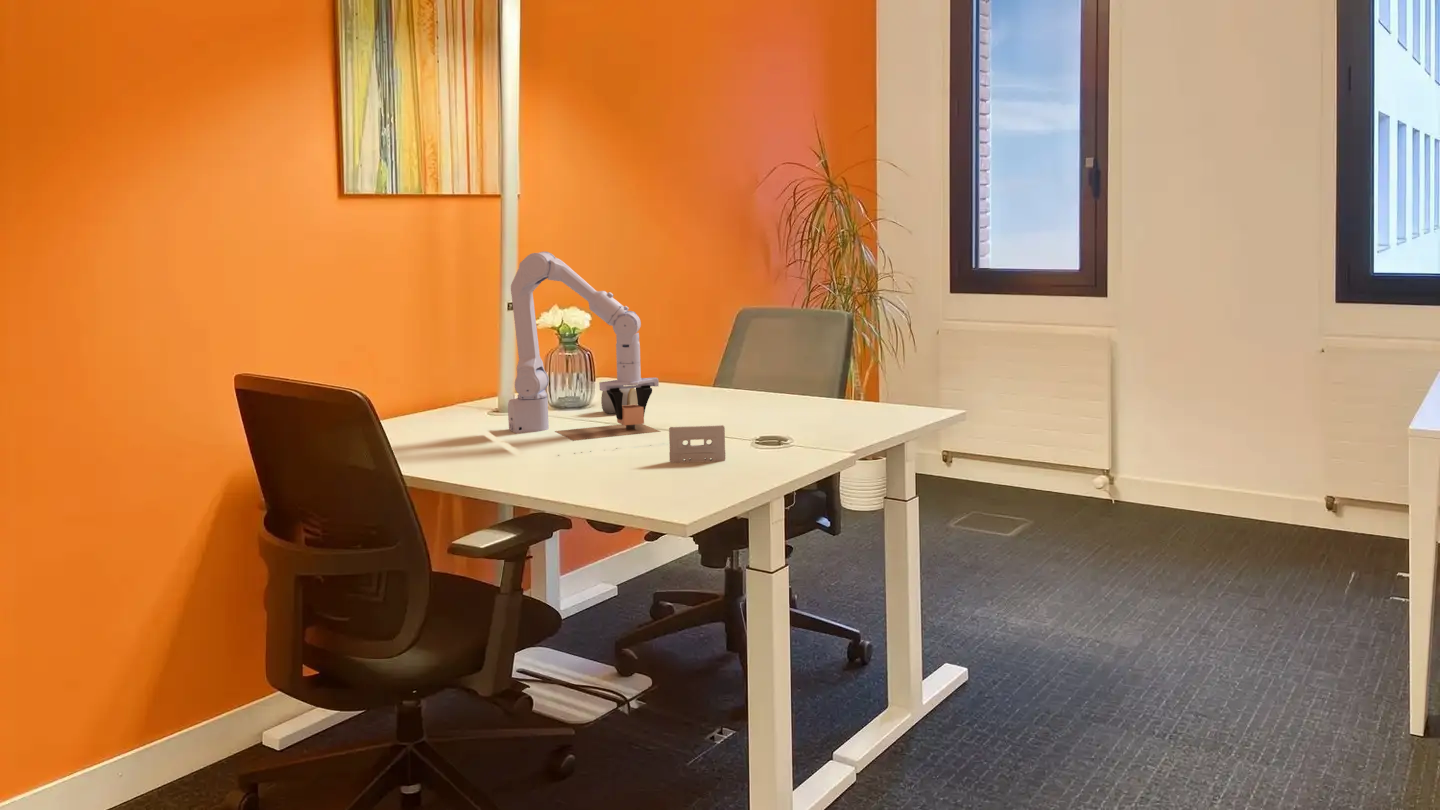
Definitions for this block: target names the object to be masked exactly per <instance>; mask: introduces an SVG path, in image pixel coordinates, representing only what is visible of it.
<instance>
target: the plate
mask: <svg viewBox="0 0 1440 810" xmlns="http://www.w3.org/2000/svg"><path fill="white" fill-rule="evenodd" d="M554 432H555V433H557V434H559V435H561V436H562V437H565V438H567V439H569V440H571V441H572V442H574V441H582V440H593V439H594V440H595V439H601V438H602V439H603V438H613V437H621V436H622V437H623V436H632V435H642V434H651V433H661V432H662V431H661V430H658V429H655V428H654V427H652V426H649V425H646V424H645V423H644V424H634V425H622V424H612V425H602V426H593V427H583V428H572V429H563V430H555V431H554Z"/></svg>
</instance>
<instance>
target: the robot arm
mask: <svg viewBox="0 0 1440 810" xmlns="http://www.w3.org/2000/svg"><path fill="white" fill-rule="evenodd" d="M518 264H519V265H518V269H517V272H516V273H515V276H514V278H513V280H512V282H511V285H510V294H511V301H512V302H511V303H512V311H513V312H512V313H513V321H514V328H515V329H514V330H515V336H516V337H515V338H516V344H517V347H516V348H517V354H518V361H517V364H516V378H515V381H514V388H515V392H516V393H517V398H512V399H509V400H508V402H507V416H508V430H509V431H511V432H513V434H514V433H515V434H521V433H537V432H544V431H547V430H549V428H550V425H549V421H550V420H549V403H548V393H547V392H546V389H547V388H548V386H549V383H550V379H549V375H548V373H547V372H546V370H545V367H544V362H543V360H542V357H541V356H540V355H541V354H540V353H541V352H540V346H539V339H538V338H539V337H538V329H537V327H538V326H537V321H536V309H535V301H534V291H535V290H536V289H537V288H538V287H539V286H540V284H542V282H543V281H546V280H548V281H553V282H554V281H555V282H561V283H563V284H564V285H566V286H567V287H568V288H570V289H571V290H572V291H574V292H575V293H577V294H578V295H579V296H580V297H581V298H583V299H584V300H585V301H587V302H588V308H589V310H590V311H591V312H592V313H594V314H595V315H596V316H598V318H600V319H601V320H602V321H603V322H605V323H606V324H607V325H609V326H611V327H612V330H613V332H614V333H615V335H616V337H615V339H616V343H615V347H616V349H615V351H616V353H615V354H616V356H615V357H616V379H614V380H609V381H608V380H607V381H600V382H599V385H598V386H599V391H601V392H603V391H606V390H607V394H608V395H609V397H610V399H611V401H612V404H613V406H614V409H615V412H616V413H615V415H616V420H617V419H619V420H621V419H622V398H623V393H622V392H621V390H619V389H627V388H634V389H636V393H637V400H638V404H637V405H639V406H642V407H644V414H645V413H646V408H647V405H648V402H649V399H650V397H651V395H652V393H653V387H659V378H658V377H643V378H642V374H641V371H642V369H641V368H642V366H641V345H640V343H641V342H640V333H639V331H640V328H641V327H642V322H641V318H640V317H639V315H638V314H637V313H636V312H635V311H632V310H629V309H630V307H628V306H627V305H625V306H624V305H623V304H622V303H620V302H619V301H618V300H617V299H615V298H614V294H613V293H612V292H610V291H609V292H607V291H606V290H596V289H595V288H594V287H593V286H592V285H590V284H589V283H588V282H587V281H586V280H585V279H584V278H583V277H581V276H580V275H579V274H578V273H577V272H576V271H574V270H573V269H572V268H571V266H569V265H568V264H567V263H565V262H564V261H563V260H562V259H560V258H558V257H556V256H555V255H554V254H553V253H551V252H548V251H540V252H533V253H530V254H528V255H527V256H525V258H523V259H522V261H520V262H519V263H518Z"/></svg>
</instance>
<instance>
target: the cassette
mask: <svg viewBox="0 0 1440 810" xmlns="http://www.w3.org/2000/svg"><path fill="white" fill-rule="evenodd" d="M725 430H726V429H725V426H724V425H723V424H722V425H721V424H719V425H693V426H692V425H689V426H669V428H668V434H669V435H668V438H669V440H668V441H669V462H670V463H702V462H703V463H704V462H705V463H706V462H707V463H708V462H722V461H726V441H725V440H726V437H725V432H726V431H725ZM694 440H695V441H696V440H703V444H691V441H694ZM709 440H710V441H711V443H707V442H708V441H709ZM684 441H687V444H684Z"/></svg>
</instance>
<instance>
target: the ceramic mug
mask: <svg viewBox="0 0 1440 810" xmlns="http://www.w3.org/2000/svg"><path fill="white" fill-rule="evenodd" d="M619 390H621V392H622V393H623V398H622V406H623V405H634V404H636V405H638V400H637V393H636V388H627V389H619ZM601 409H602V411H603V412H604V413H606V414H616V412H615V409H614V406H613V404H612V401H611V399H610V397H609V395H608V394H607V390H606V391H601Z"/></svg>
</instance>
